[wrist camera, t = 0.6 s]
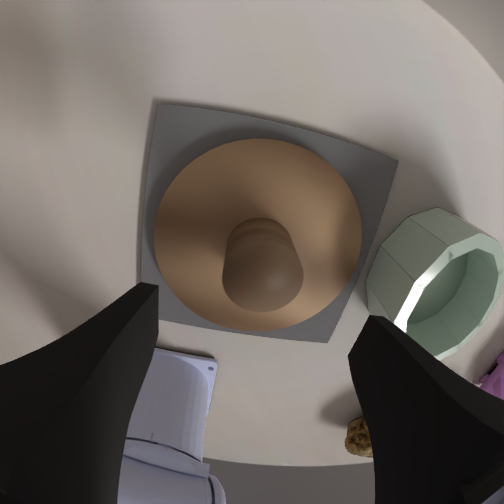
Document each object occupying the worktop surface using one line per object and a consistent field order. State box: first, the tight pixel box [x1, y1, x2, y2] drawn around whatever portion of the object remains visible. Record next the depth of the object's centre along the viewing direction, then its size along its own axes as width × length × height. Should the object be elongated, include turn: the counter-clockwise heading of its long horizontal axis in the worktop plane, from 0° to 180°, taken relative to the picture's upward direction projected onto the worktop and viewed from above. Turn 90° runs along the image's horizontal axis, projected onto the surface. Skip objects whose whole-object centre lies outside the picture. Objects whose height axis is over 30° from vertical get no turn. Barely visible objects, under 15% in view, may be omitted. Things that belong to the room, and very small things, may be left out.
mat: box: [141, 104, 398, 343], centre depth 17 cm, size 15×15×1 cm
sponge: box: [345, 416, 373, 457], centre depth 26 cm, size 13×8×20 cm
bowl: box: [366, 207, 504, 361], centre depth 17 cm, size 11×11×5 cm
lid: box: [154, 138, 362, 332], centre depth 15 cm, size 13×13×4 cm
